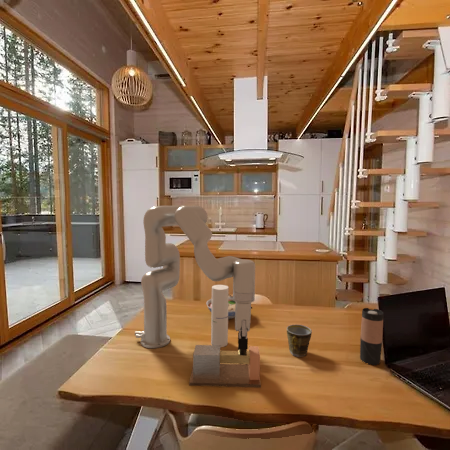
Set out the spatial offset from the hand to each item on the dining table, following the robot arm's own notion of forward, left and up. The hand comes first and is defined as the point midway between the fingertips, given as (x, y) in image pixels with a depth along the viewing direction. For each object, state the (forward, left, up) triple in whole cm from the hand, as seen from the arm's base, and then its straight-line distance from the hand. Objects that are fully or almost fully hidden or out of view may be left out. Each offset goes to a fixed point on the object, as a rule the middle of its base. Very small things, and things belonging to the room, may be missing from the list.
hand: (242, 345), depth 105 cm
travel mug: (+51, +13, -11) cm, 54 cm away
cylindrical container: (-9, +24, -11) cm, 28 cm away
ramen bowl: (-6, +54, -11) cm, 56 cm away
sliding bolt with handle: (-3, 0, -6) cm, 6 cm away
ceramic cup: (+23, +16, -11) cm, 30 cm away
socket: (+4, 0, -10) cm, 11 cm away
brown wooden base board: (-6, 0, -11) cm, 13 cm away
